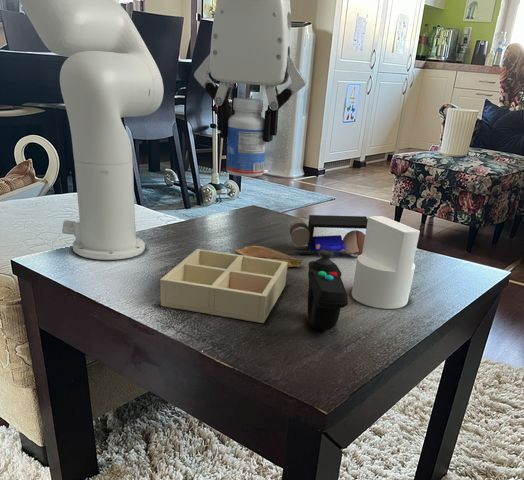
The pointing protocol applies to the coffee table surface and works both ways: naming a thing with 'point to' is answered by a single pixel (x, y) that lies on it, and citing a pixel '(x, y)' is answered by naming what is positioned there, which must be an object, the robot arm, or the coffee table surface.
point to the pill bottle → (246, 138)
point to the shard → (268, 255)
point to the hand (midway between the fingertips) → (246, 137)
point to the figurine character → (350, 242)
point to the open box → (224, 285)
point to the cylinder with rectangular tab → (385, 264)
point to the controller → (325, 292)
